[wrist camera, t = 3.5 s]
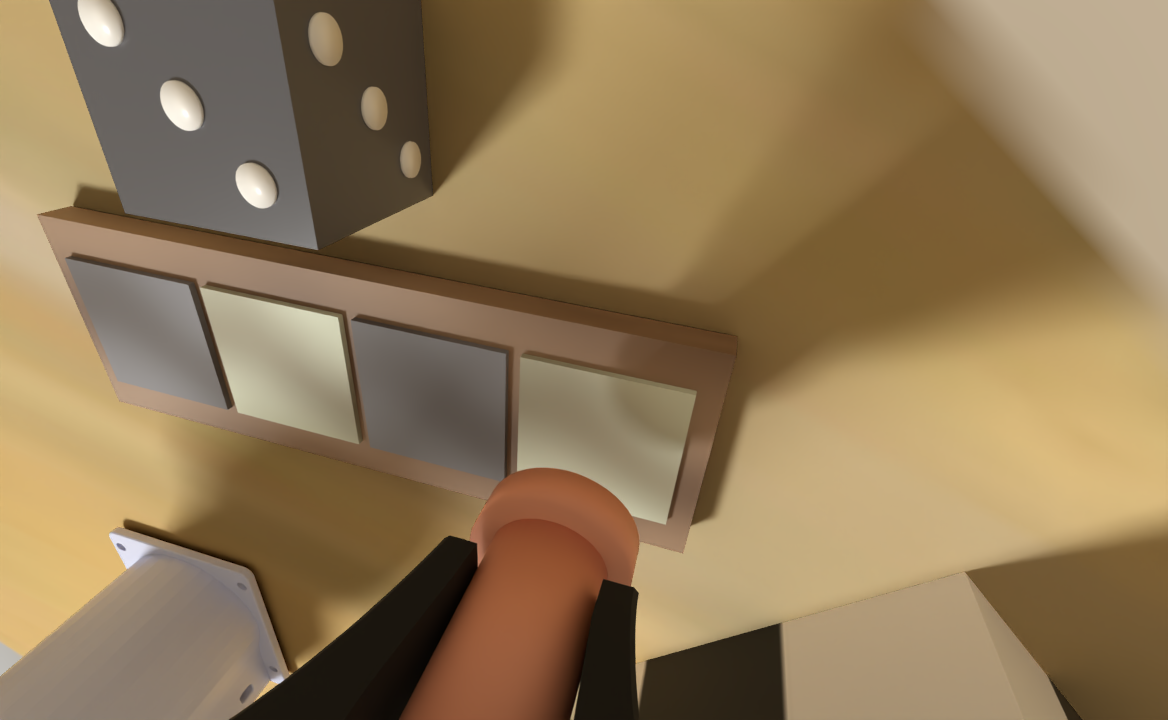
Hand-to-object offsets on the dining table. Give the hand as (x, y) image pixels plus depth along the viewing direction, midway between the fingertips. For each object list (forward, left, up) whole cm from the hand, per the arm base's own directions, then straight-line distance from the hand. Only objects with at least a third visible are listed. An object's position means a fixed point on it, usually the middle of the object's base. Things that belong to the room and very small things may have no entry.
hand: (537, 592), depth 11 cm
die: (+8, +7, -6) cm, 13 cm away
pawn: (0, 0, -2) cm, 2 cm away
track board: (0, +7, -6) cm, 10 cm away
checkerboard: (-34, -12, -7) cm, 37 cm away
